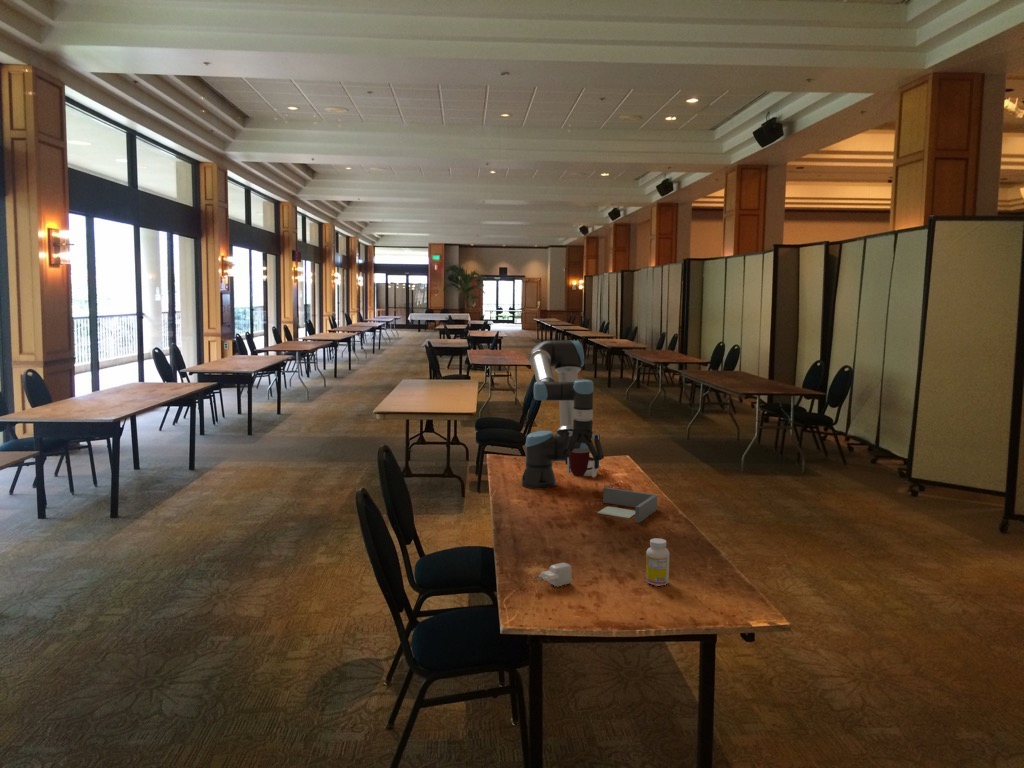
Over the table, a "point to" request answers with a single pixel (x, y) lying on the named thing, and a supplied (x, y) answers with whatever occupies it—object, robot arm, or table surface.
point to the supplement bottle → (657, 562)
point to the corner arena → (629, 503)
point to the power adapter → (557, 574)
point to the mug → (579, 461)
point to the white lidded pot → (589, 466)
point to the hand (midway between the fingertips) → (581, 474)
